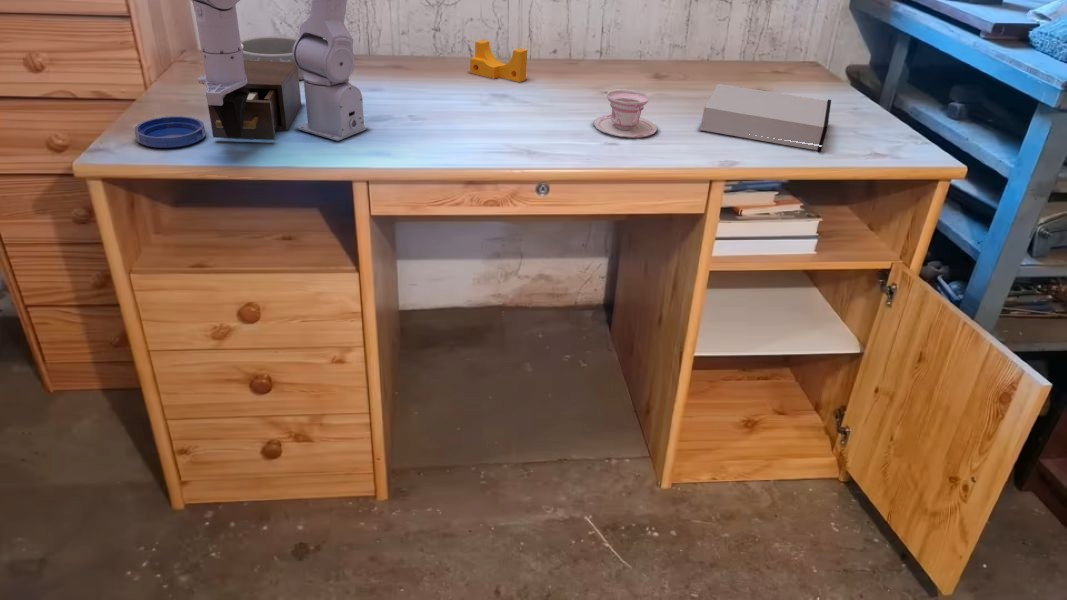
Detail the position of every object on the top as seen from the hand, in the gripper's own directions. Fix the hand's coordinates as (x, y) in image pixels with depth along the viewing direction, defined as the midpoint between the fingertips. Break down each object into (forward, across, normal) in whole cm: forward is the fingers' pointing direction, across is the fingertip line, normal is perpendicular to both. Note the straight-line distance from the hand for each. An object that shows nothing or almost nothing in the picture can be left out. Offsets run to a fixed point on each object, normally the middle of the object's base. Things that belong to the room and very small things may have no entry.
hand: (234, 135), depth 125 cm
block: (+1, -10, -1) cm, 11 cm away
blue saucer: (+3, -6, -12) cm, 14 cm away
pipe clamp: (+3, -50, +44) cm, 67 cm away
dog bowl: (+3, -48, -4) cm, 48 cm away
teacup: (+3, -19, +67) cm, 70 cm away
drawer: (+2, -9, 0) cm, 10 cm away
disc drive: (+3, -22, +95) cm, 98 cm away
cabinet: (+3, -19, 0) cm, 19 cm away
